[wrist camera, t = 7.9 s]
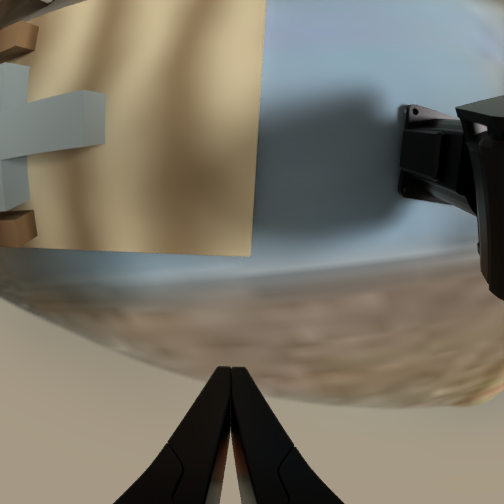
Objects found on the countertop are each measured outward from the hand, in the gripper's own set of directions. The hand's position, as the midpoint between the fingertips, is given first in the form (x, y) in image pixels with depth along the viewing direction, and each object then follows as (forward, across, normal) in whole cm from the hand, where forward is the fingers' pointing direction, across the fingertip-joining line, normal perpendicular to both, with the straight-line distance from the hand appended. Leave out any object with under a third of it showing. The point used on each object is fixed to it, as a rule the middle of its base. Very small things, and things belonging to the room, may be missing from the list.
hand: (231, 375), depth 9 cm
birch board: (+12, +10, -8) cm, 18 cm away
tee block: (+11, +13, -8) cm, 19 cm away
